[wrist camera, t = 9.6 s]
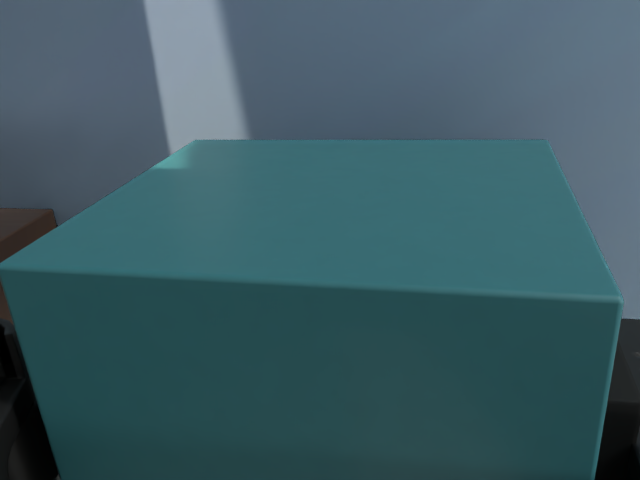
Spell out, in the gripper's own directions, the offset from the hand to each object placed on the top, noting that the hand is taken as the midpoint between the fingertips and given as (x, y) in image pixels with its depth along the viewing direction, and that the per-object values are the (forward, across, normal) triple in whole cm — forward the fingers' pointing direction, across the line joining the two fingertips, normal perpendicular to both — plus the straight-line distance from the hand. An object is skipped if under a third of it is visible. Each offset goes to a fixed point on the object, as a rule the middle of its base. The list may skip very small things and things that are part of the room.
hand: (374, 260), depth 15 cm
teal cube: (-2, 0, 0) cm, 2 cm away
